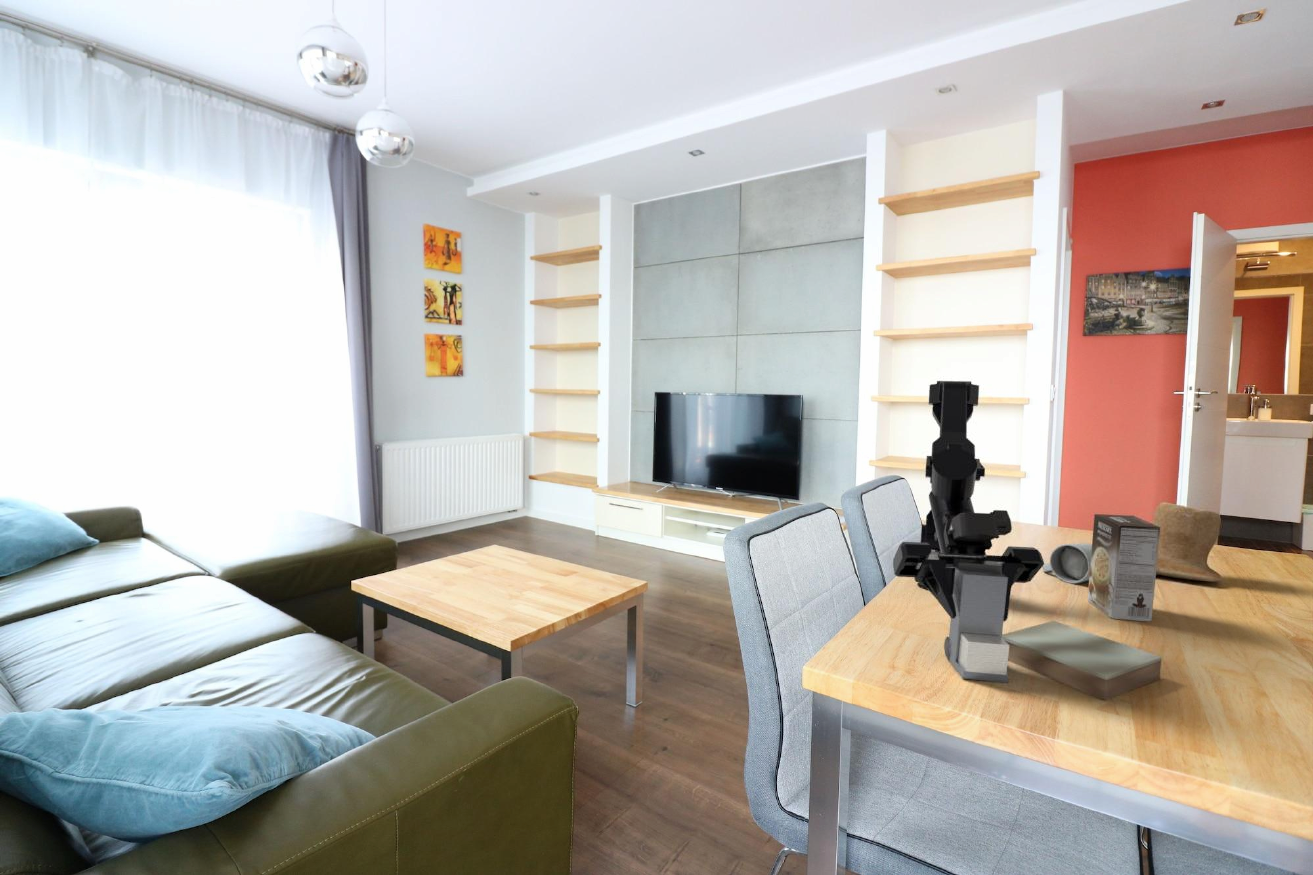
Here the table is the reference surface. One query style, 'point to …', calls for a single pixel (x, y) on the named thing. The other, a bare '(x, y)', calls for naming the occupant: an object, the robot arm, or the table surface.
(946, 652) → the hand trolley
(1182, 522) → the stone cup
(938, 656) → the table surface
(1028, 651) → the plate
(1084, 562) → the ceramic mug
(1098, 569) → the coffee box
